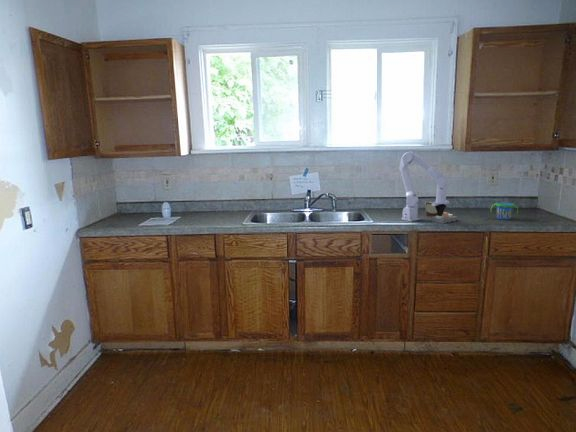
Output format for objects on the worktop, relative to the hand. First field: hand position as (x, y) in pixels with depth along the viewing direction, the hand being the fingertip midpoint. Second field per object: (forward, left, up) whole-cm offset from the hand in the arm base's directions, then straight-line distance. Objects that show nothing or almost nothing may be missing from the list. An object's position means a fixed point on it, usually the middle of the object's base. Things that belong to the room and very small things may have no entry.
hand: (439, 216), depth 244 cm
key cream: (+9, 0, -3) cm, 10 cm away
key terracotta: (+5, 0, -2) cm, 5 cm away
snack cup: (+39, -19, -4) cm, 44 cm away
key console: (+5, 0, -4) cm, 6 cm away
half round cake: (+12, +15, -4) cm, 20 cm away
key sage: (0, 0, -3) cm, 3 cm away
